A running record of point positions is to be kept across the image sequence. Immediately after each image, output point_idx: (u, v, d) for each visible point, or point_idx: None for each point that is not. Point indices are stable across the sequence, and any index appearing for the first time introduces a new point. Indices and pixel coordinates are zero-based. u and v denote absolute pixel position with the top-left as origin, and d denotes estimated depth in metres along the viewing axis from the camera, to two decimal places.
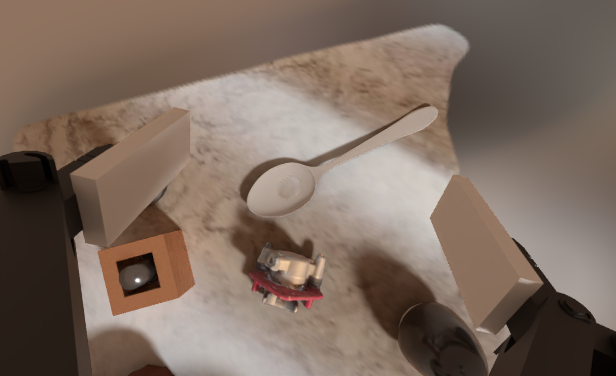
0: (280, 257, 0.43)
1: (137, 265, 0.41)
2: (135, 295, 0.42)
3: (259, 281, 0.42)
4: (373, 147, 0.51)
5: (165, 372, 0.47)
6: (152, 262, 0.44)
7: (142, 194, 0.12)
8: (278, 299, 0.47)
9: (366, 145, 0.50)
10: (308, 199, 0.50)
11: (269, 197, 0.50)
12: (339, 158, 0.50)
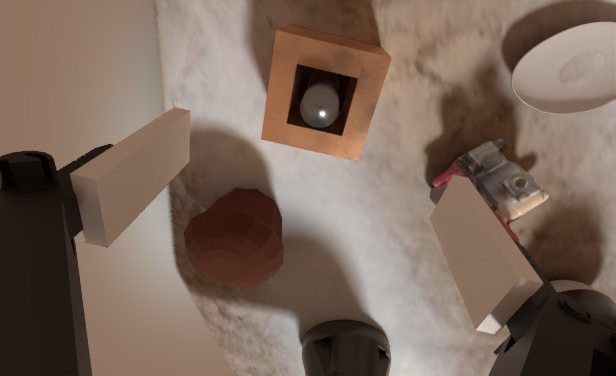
0: None
1: (332, 91, 0.24)
2: (302, 128, 0.27)
3: None
4: None
5: (274, 208, 0.39)
6: (337, 87, 0.27)
7: (142, 194, 0.12)
8: None
9: None
10: (593, 105, 0.30)
11: (543, 68, 0.29)
12: None
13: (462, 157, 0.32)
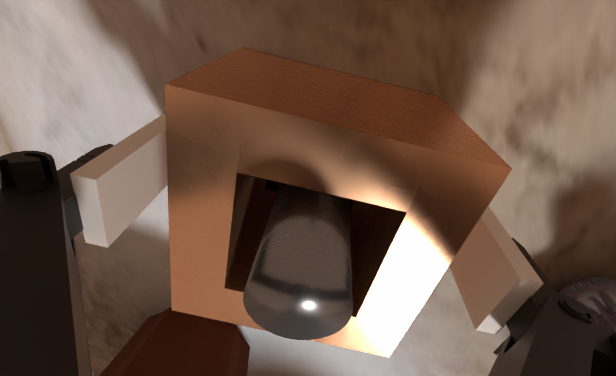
0: None
1: (335, 253, 0.09)
2: None
3: None
4: None
5: (235, 344, 0.23)
6: (345, 202, 0.12)
7: (142, 194, 0.12)
8: None
9: None
10: None
11: None
12: None
13: (600, 307, 0.16)
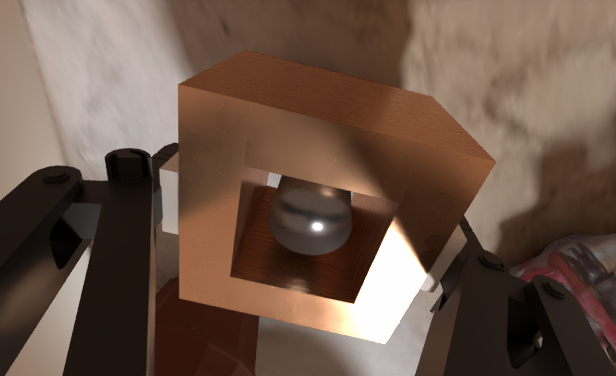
0: None
1: None
2: (266, 286, 0.12)
3: None
4: None
5: None
6: None
7: None
8: None
9: None
10: None
11: None
12: None
13: (577, 254, 0.18)
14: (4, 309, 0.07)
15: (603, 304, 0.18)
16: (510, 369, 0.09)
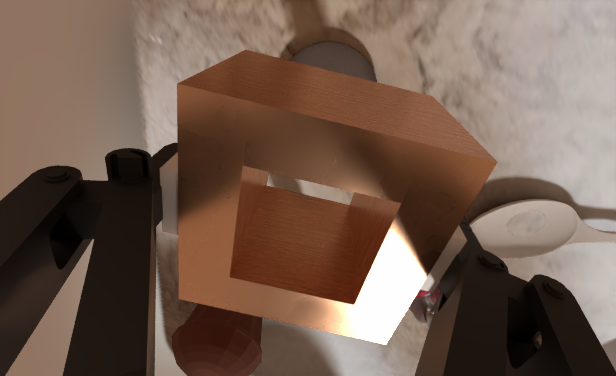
0: None
1: None
2: (265, 286, 0.12)
3: None
4: None
5: None
6: None
7: None
8: None
9: None
10: (536, 252, 0.34)
11: (492, 223, 0.33)
12: None
13: None
14: (4, 309, 0.07)
15: None
16: (510, 369, 0.09)
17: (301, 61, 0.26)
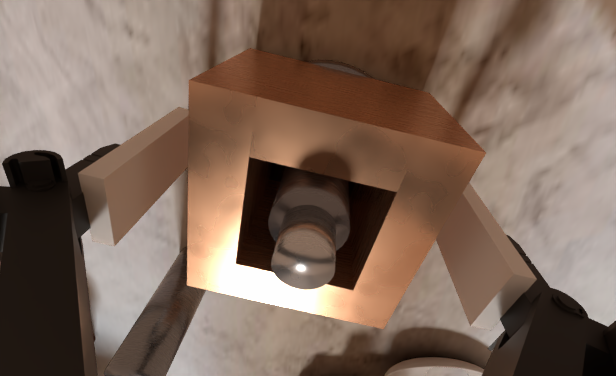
0: None
1: (164, 360, 0.17)
2: (269, 273, 0.13)
3: None
4: None
5: None
6: (191, 315, 0.20)
7: (147, 193, 0.12)
8: None
9: None
10: None
11: None
12: None
13: None
14: None
15: None
16: None
17: None
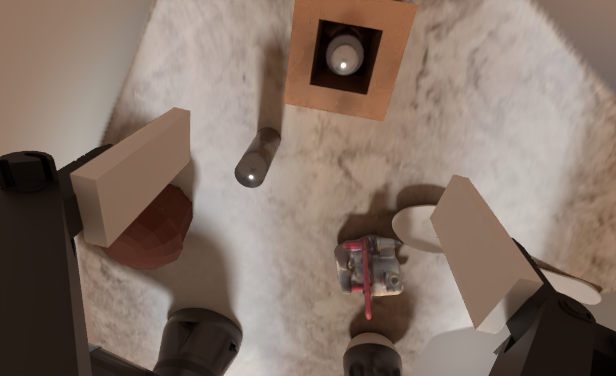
0: None
1: (264, 165, 0.31)
2: (325, 89, 0.26)
3: (366, 273, 0.38)
4: None
5: (189, 210, 0.44)
6: (272, 156, 0.34)
7: (142, 194, 0.12)
8: None
9: None
10: (435, 250, 0.44)
11: (415, 217, 0.42)
12: None
13: (371, 239, 0.41)
14: None
15: (370, 262, 0.41)
16: None
17: None
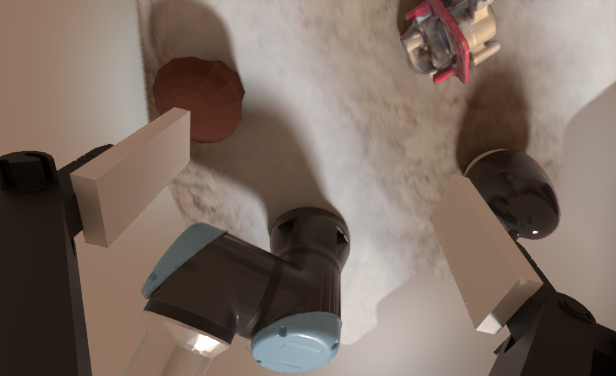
0: None
1: None
2: None
3: (443, 7, 0.32)
4: None
5: (236, 77, 0.43)
6: None
7: (142, 194, 0.12)
8: (416, 49, 0.39)
9: None
10: None
11: None
12: None
13: None
14: None
15: None
16: None
17: None
